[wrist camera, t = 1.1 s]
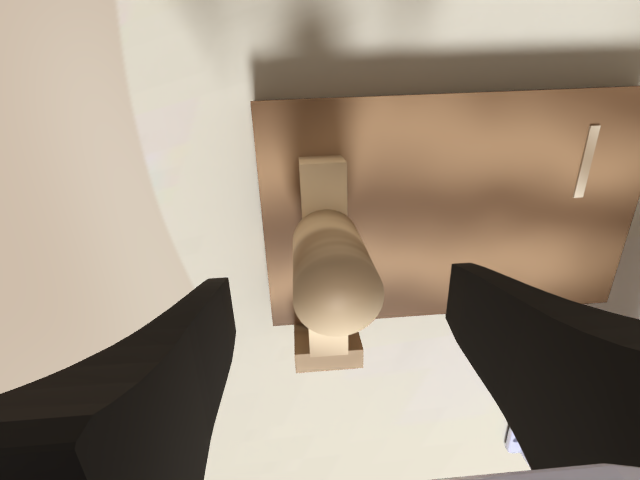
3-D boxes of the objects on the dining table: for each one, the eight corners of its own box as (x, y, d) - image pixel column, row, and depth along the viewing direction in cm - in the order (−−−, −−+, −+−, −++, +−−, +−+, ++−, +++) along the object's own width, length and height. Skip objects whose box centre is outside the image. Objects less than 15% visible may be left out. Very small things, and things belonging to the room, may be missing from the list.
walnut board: (582, 285, 23) (608, 302, 22) (274, 306, 22) (272, 327, 20) (636, 86, 19) (675, 85, 17) (254, 100, 18) (250, 101, 16)
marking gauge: (352, 328, 23) (385, 455, 15) (295, 332, 22) (297, 462, 14) (352, 149, 18) (398, 190, 10) (282, 152, 18) (274, 197, 10)
